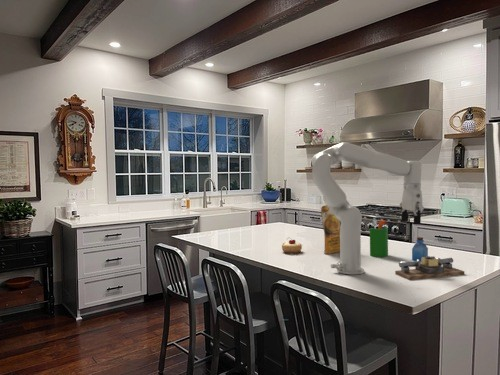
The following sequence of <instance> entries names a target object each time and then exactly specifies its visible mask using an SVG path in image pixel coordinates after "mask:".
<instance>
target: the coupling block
mask: <svg viewBox="0 0 500 375" xmlns="http://www.w3.org/2000/svg"><path fill="white" fill-rule="evenodd" d="M436 258H437V257H436V256H434V255H433V256H429V255H428V256H425V257H421V261H420V262H421V266H424V267H426V268H436V267H438V259H436Z"/></svg>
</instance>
